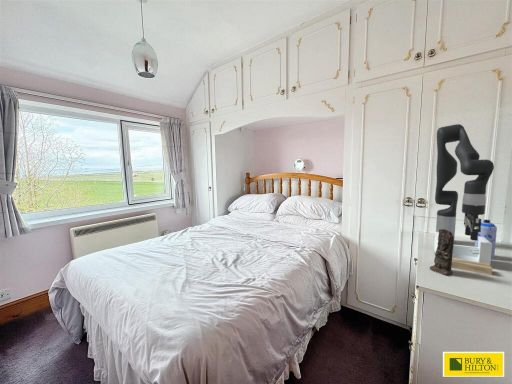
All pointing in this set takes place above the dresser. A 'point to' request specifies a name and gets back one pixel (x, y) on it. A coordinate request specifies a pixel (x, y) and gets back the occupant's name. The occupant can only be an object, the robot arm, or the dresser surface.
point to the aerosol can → (488, 235)
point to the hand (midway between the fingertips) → (470, 237)
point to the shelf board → (471, 266)
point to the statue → (444, 253)
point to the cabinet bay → (471, 251)
